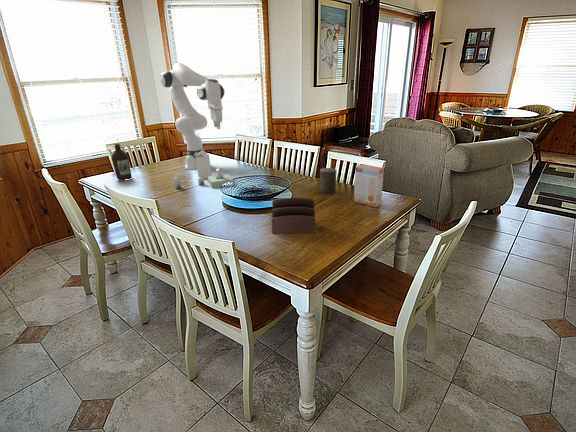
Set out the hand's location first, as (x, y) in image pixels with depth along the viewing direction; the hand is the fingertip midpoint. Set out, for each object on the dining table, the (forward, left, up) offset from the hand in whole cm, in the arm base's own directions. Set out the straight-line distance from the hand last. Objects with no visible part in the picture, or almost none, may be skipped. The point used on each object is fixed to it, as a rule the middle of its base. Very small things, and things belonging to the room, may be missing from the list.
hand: (217, 127), depth 226 cm
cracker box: (+86, +62, -34) cm, 111 cm away
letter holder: (+99, +13, -34) cm, 105 cm away
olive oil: (-26, -64, -34) cm, 77 cm away
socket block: (+14, -4, -34) cm, 37 cm away
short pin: (+11, -16, -34) cm, 39 cm away
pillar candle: (+59, +52, -34) cm, 86 cm away
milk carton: (-6, -11, -34) cm, 37 cm away
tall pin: (+14, -4, -34) cm, 37 cm away
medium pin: (+11, -31, -34) cm, 47 cm away
